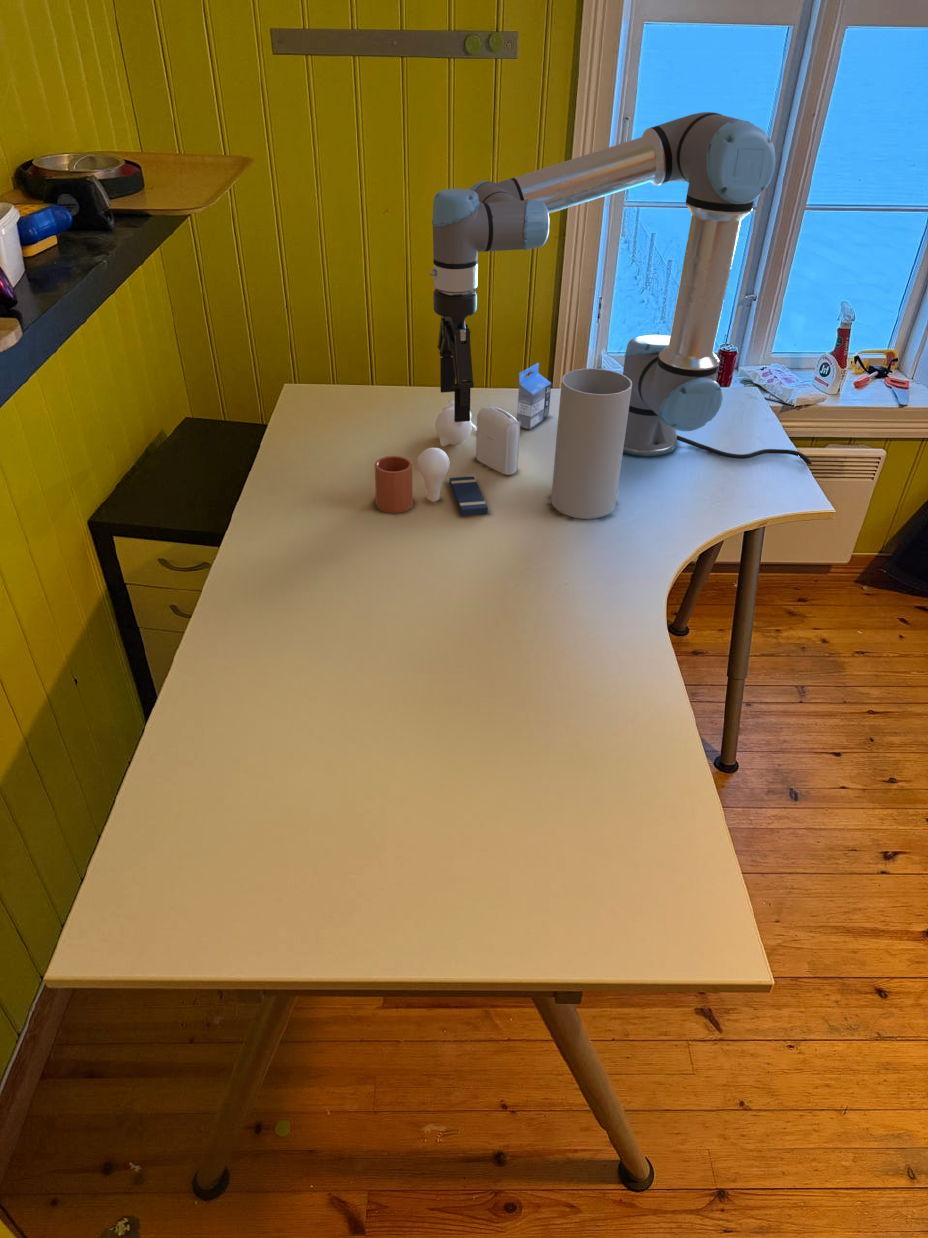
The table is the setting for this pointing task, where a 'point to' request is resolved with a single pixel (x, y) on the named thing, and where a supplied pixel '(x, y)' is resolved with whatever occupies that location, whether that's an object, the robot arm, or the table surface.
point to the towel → (468, 496)
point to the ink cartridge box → (533, 398)
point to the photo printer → (497, 439)
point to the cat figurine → (452, 427)
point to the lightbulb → (433, 471)
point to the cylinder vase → (590, 442)
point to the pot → (394, 484)
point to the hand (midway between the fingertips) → (454, 405)
